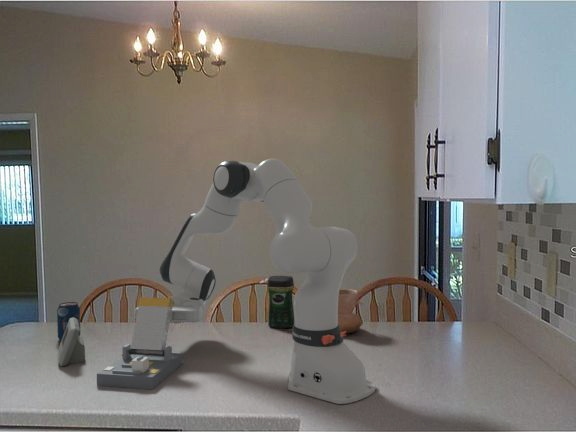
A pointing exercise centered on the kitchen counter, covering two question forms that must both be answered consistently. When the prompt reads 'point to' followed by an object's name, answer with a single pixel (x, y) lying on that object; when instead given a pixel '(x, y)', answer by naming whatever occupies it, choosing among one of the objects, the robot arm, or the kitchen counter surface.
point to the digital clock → (71, 344)
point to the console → (125, 377)
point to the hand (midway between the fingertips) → (157, 319)
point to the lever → (151, 326)
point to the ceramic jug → (348, 311)
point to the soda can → (66, 316)
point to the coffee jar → (280, 301)
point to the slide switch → (140, 364)
